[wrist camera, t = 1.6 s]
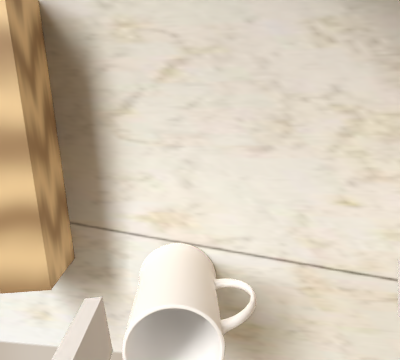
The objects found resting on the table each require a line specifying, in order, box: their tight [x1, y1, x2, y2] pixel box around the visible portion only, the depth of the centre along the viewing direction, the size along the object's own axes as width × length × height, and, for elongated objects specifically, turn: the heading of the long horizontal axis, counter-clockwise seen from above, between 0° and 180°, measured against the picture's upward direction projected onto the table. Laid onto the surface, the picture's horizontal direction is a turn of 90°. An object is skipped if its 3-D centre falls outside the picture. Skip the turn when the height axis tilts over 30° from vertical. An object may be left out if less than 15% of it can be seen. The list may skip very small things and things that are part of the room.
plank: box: [0, 0, 75, 293], centre depth 32 cm, size 26×4×7 cm, turn 3°
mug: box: [122, 243, 256, 360], centre depth 33 cm, size 12×8×12 cm
